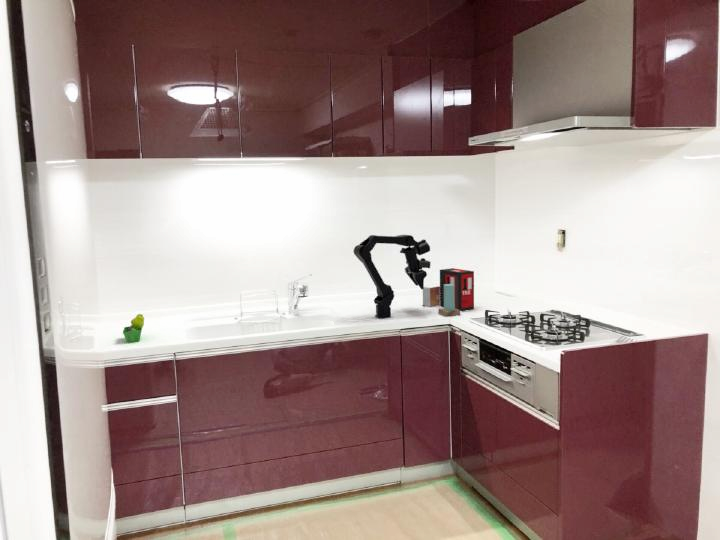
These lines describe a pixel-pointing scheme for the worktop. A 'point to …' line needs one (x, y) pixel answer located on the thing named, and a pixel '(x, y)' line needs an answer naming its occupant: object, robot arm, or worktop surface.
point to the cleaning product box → (458, 287)
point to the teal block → (449, 297)
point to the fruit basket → (134, 329)
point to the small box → (431, 295)
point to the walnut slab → (449, 312)
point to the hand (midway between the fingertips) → (419, 287)
